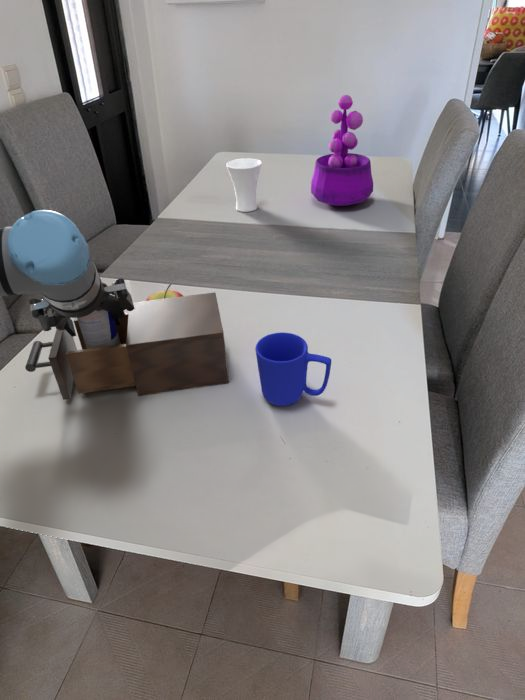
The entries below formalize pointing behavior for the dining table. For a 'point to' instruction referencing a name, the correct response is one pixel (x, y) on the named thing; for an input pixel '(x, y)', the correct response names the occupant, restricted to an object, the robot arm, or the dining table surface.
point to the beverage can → (99, 329)
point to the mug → (286, 368)
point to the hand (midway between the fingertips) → (94, 323)
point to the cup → (245, 182)
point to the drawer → (85, 362)
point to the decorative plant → (343, 163)
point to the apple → (164, 295)
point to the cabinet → (176, 344)
